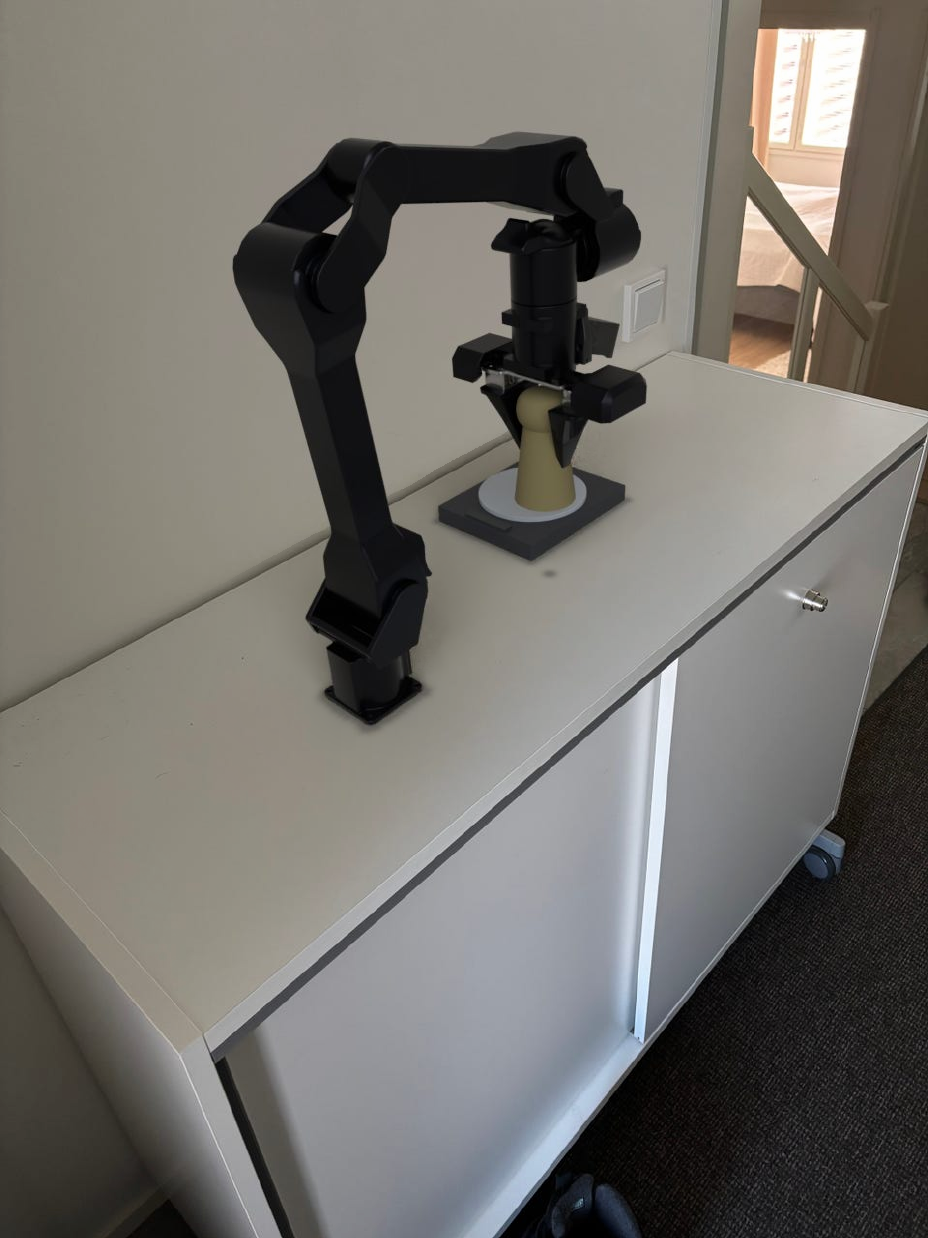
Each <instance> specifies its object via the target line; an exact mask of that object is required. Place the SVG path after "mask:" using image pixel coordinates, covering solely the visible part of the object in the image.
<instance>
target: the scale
mask: <svg viewBox="0 0 928 1238" xmlns="http://www.w3.org/2000/svg"><path fill="white" fill-rule="evenodd" d="M518 464H519V460H518V461H516V462H514V463H512V464H511V465H509V466H507V467H505V468H504V469H502V470H500V471H498V472H497V473H495V474H493V475H491V476H489V477H487V478H485V479H484V480H482V481H480V482H478V483H476V484H475V485H472V486H471V487H469V488H468V489H466V490H464V491H462V492H460V493H458V494H457V495H455V496H453V497H451V498H450V499H448V500H446V501H444V502H442V503H440V504H439V505H437V512H438V521H439V522H441V523H443V524H445V525H448V526H450V527H452V528H454V529H457V530H459V531H461V532H463V533H466V534H468V535H471V536H473V537H475V538H478V539H480V540H482V541H484V542H487V543H489V544H491V545H493V546H496V547H498V548H500V549H503V550H505V551H507V552H510V553H512V554H514V555H516V556H519V557H521V558H523V559H526V560H527V561H531V562H532V561H534V560H536V559H537V558H539V557H540V556H542V555H543V554H545V553H546V552H548V551H549V550H551V549H552V548H554V547H556V546H557V545H558V544H561V542H563V541H565V540H566V539H568V538H570V537H571V536H572V535H574V534H575V533H576V532H578V531H580V530H582V529H583V528H584V527H586V526H587V525H589V524H590V523H592V522H594V521H595V520H596V519H598V518H600V517H601V516H603V515H604V514H605V513H607V512H608V511H610V510H612V509H614V508H615V507H616V506H617V505H620V504H621V503H622V502H624V501H625V499H626V484H623V483H620V482H617V481H615V480H613V479H609V478H607V477H603V476H600V475H598V474H595V473H592V472H589V471H586V470H583V469H580V468H577V467H574V466H572V470H573V477H574V485H575V492H576V499H575V501H574V502H573V503H572V504H571V505H569V506H568V507H566V508H563V509H560V510H557V511H550V512H538V511H532V510H528V509H525V508H523V507H521V506H520V505H518V504H517V503H516V501H515V490H516V482H517V473H518Z"/></svg>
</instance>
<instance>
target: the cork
mask: <svg viewBox="0 0 928 1238" xmlns="http://www.w3.org/2000/svg"><path fill="white" fill-rule="evenodd" d="M562 398H563V391H561V390H557V389H554V388H551V387H547V386H544V385H541V384H539V385H538V386H534V387H530V388H529V389H527V390H525V391H523V392H522V393H521V395H520V396H519V398H518V401H517V406H516V412H517V417H518V420H519V421H520V423H521V424H522V425H523V429H522V438H521V447H520V449H519V456H518V461H519V464H518V473H517V482H516V490H515V501H516V503H517V504H518V505H520V506H521V507H523V508H525V509H528V510H532V511H538V512H550V511H557V510H560V509H563V508H566V507H568V506H569V505H571V504H572V503H573V502H574V501H575V499H576V492H575V485H574V477H573V470H572V467H573V462H572V461H571V462H570V464H569V466H567V467H565V468H563V469H562V468H561V466H560V464H559V462H558V460H557V458H556V455H555V450H554V444H553V438H552V433H551V427H550V422H549V416H548V410H550V409H552V408H554V407H556V406H557V405H559V404H561V403H562Z"/></svg>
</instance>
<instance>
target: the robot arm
mask: <svg viewBox="0 0 928 1238" xmlns="http://www.w3.org/2000/svg"><path fill="white" fill-rule="evenodd" d="M587 149H588V143H587V142H586V141H585V140H584V139H583V138H582V137H579V136H576V135H566V134H564V135H563V134H553V133H542V132H528V131H513V132H512V131H511V132H508V133H505V134H500V135H497V136H492V137H490V138H488V139H487V140H486V141H484V142H483V143H479V144H475V145H456V144H455V145H453V144H428V143H425V144H423V143H397V142H392V141H388V140H380V139H379V140H378V139H371V138H360V137H348V138H347V137H346V138H343V139H342V140H340V141H339V142H336V143H334V145H333V146H332V147H331V148H329V150H328V151H327V153H326V154H325V155H324V157H323V158H322V160H321V161H320V163H319V164H318V165H317V167H316V168H315V169H314V170H313V171H312V172H311V173H309V174H308V175H307V176H306V177H304V178H303V179H302V180H301V181H299V182H298V183H297V184H296V185H294V186H293V187H292V188H291V189H289V190H288V191H287V192H286V193H284V194H283V195H282V196H281V197H279V198H278V199H277V200H276V201H275V202H274V203H273V205H271V207H270V209H269V210H268V211H267V213H266V215H265V216H264V217H263V219H262V220H261V222H260V223H259V224H257V225H255V226H254V227H253V228H251V229H249V231H248V232H247V233H246V234H245V235H244V237H243V238H242V240H241V241H240V244H239V246H238V250H237V252H236V254H234V255H233V257H232V266H231V269H232V274H233V281H234V284H235V287H236V290H237V292H238V294H239V296H240V299H241V301H242V303H243V305H244V307H245V308H246V311H247V314H248V315H249V317H250V319H251V322H252V323H253V326H254V328H255V329H256V330H257V332H258V333H259V334H260V336H261V337H262V338H263V339H264V341H265V343H266V344H268V346H269V347H270V349H271V350H272V351H273V352H274V354H275V355H276V357H277V358H278V359H279V360H280V361H281V364H282V365H283V366H284V368H285V370H286V374H287V377H288V380H289V383H290V387H291V391H292V394H293V399H294V402H295V405H296V409H297V412H298V415H299V419H300V422H301V427H302V430H303V434H304V437H305V440H306V444H307V447H308V448H307V449H308V452H309V456H310V459H311V462H312V465H313V469H314V473H315V476H316V479H317V484H318V487H319V491H320V494H321V498H322V501H323V504H324V509H325V512H326V515H327V520H328V522H329V526H330V535H329V537H328V540H327V542H326V546H325V548H324V550H323V553H322V561H323V562H322V563H323V570H324V571H323V572H324V578H323V581H322V583H321V584H320V586H319V589H318V590H317V592H316V594H315V597H314V599H313V600H312V602H311V604H310V605H309V608H308V610H307V612H306V614H305V617H304V618H305V621H306V622H307V624H308V626H309V627H310V628H311V630H312V631H313V632H314V633H316V634H317V635H319V634H320V635H321V636H323V637H325V639H328V640H330V641H331V643H330V644H329V645H327V646H326V647H325V649H326V655H327V660H328V666H329V672H330V677H331V682H332V684H331V685H329V686H328V687H326V688H325V689H324V690H323V693H324V697H325V698H326V699H328V700H330V701H331V702H333V703H334V704H335V705H337V706H338V707H340V708H342V709H343V710H345V711H346V712H348V713H349V714H351V715H352V716H354V717H355V718H357V719H358V720H360V721H361V722H363V723H364V724H366V725H368V726H373V725H375V724H377V723H378V722H380V721H381V720H382V719H384V718H385V717H387V716H388V715H390V714H391V713H393V712H394V711H395V710H397V709H398V708H399V707H401V706H403V705H404V704H405V703H406V702H408V701H409V700H411V699H412V698H413V697H415V696H416V695H418V694H419V693H421V692H422V691H423V684H422V683H421V682H420V681H418V680H417V679H415V678H414V677H411V675H412V674H413V668H412V667H413V666H412V658H411V651H410V650H412V649H414V648H415V647H416V646H418V645H419V641H420V637H421V631H422V624H423V619H424V614H425V608H426V602H427V599H428V596H429V582H428V578H429V577H432V575H433V572H432V570H431V569H430V568H429V566H428V563H427V558H426V544H425V542H424V539H423V536H422V535H421V534H419V533H417V532H416V531H412V530H410V529H408V528H406V527H404V526H402V525H399V524H397V523H395V522H394V521H393V519H392V514H391V510H390V505H389V501H388V496H387V492H386V488H385V483H384V479H383V475H382V470H381V466H380V461H379V455H378V452H377V448H376V443H375V439H374V435H373V430H372V426H371V422H370V417H369V413H368V408H367V404H366V400H365V399H366V398H365V395H364V390H363V386H362V381H361V377H360V373H359V369H358V364H357V357H356V353H357V351H358V348H359V345H360V342H361V338H362V336H363V333H364V330H365V328H366V327H365V326H366V324H367V318H368V317H367V316H368V315H367V301H366V289H365V288H366V286H367V284H368V283H369V282H370V281H371V279H372V278H373V276H374V274H375V273H376V272H377V270H378V268H379V267H380V265H382V262H383V261H384V260H385V259H386V258H385V257H386V255H387V253H388V246H389V239H390V233H391V228H392V221H393V218H394V216H395V214H396V213H397V212H398V210H399V208H400V207H401V206H402V205H425V204H426V205H427V204H429V205H430V204H469V203H486V204H490V205H493V206H497V207H501V208H505V209H507V210H508V209H509V210H516V211H523V212H526V213H529V214H530V213H531V214H537V215H544V216H552V219H549V218H538V219H535V220H532V221H530V220H527V219H522V218H516V217H515V218H514V217H508V219H507V220H506V222H505V224H504V226H503V228H502V229H500V231H499V232H498V233H497V234H496V235H495V236H494V238H493V240H492V241H491V243H490V249H491V250H492V251H494V252H500V253H505V254H508V255H509V257H508V258H509V259H508V260H509V286H510V287H509V289H510V308H508V309H505V310H503V311H501V313H500V314H501V324H502V325H505V326H509V327H511V338H510V337H507V336H504V335H499V334H496V333H492V332H488V333H486V334H483V335H481V336H478V337H476V338H473V339H471V340H469V341H466V342H464V343H462V344H459V345H457V347H456V349H455V351H454V353H453V355H452V357H451V365H452V378H455V379H459V380H462V381H464V382H468V383H470V384H473V383H476V382H478V381H479V379H481V377H482V376H483V372H484V382H485V384H483V385H481V386H479V390H480V394H482V395H485V396H486V397H487V399H488V400H489V402H490V403H491V405H492V406H493V408H494V409H495V411H496V413H497V414H498V415H499V417H500V419H501V420H502V422H503V423H504V425H505V427H506V429H507V430H508V432H509V434H510V436H511V437H512V439H513V441H514V443H515V444H516V446H517V447H518V450H520V447H521V438H522V429H523V425H522V424H521V423H520V421H519V420H518V417H517V412H516V406H517V401H518V398H519V396H520V395H521V393H522V392H523V391H525V390H527V389H529V388H530V387H534V386H539V385H544V386H547V387H551V388H554V389H557V390H561V391H563V398H562V403H561V404H559V405H557V406H556V407H554V408H552V409H550V410H548V416H549V422H550V427H551V433H552V438H553V444H554V450H555V455H556V458H557V460H558V462H559V464H560V466H561V468H562V469H563V468H565V467H567V466H569V464H570V462H572V459H573V457H574V454H575V452H576V450H577V447H578V445H579V442H580V440H581V437H582V435H583V432H584V429H585V428H586V425H587V424H588V422H589V421H590V422H594V423H597V424H600V425H602V424H603V425H604V424H612V423H613V422H616V421H617V420H619V419H621V418H622V417H625V416H626V415H628V414H629V413H631V412H633V411H634V410H635V411H636V409H639V408H640V407H642V406H644V405H646V404H647V392H648V384H647V380H646V378H645V377H644V375H642V374H641V372H638V371H635V370H631V369H626V368H624V367H619V366H616V365H612V364H606V365H605V366H603V367H600V368H598V369H596V370H594V371H593V372H586V373H585V372H581V371H578V370H577V366H578V365H581V366H585V365H587V364H589V363H591V362H592V361H593V356H602V357H605V358H606V359H612V358H613V357H614V356H613V355H614V351H615V346H616V344H617V343H616V342H617V338H618V335H619V330H620V323H619V322H614V321H610V320H606V319H601V318H598V317H593V316H589V308H588V306H587V303H583V302H578V283H586V282H589V281H591V280H593V279H596V278H598V277H600V276H603V275H605V274H607V273H609V272H612V271H614V270H616V269H618V268H621V267H624V266H625V265H628V264H630V263H631V262H632V261H633V260H634V258H635V257H636V256H637V255H638V253H639V250H640V247H641V243H642V242H641V241H642V231H641V229H640V228H639V222H638V220H637V218H636V215H635V214H634V213H633V211H632V210H631V209H630V208H629V207H628V206H627V205H626V204H625V203H624V190H623V189H621V188H614V187H605V186H604V185H603V182H602V180H601V178H600V176H599V173H598V171H597V169H596V167H595V165H594V163H593V160H592V159H591V158H590V156H589V152H588V150H587ZM350 210H351V212H350V216H349V217H348V219H347V221H346V223H344V225H343V227H342V229H341V230H340V231H339V232H338V234H334V233H328V232H325V230H326V229H328V228H329V227H331V226H332V225H333V224H334V223H336V222H337V221H338V220H340V219H341V218H342V217H343V216H345V215H346V214H347V213H348V212H349V211H350Z"/></svg>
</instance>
